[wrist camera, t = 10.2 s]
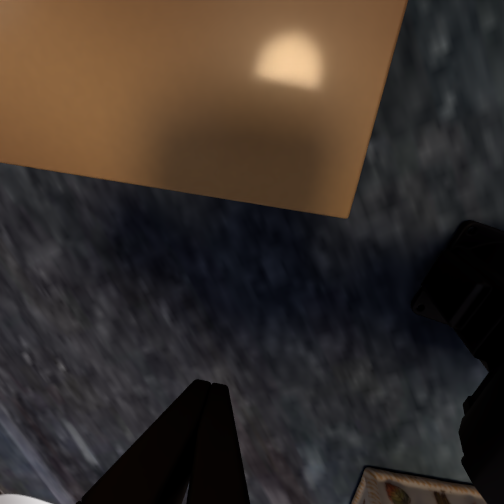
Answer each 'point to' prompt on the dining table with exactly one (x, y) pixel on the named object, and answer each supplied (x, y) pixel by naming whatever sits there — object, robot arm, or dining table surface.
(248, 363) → the dining table surface
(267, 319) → the dining table surface
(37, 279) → the dining table surface
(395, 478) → the decorative jar
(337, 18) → the cabinet
